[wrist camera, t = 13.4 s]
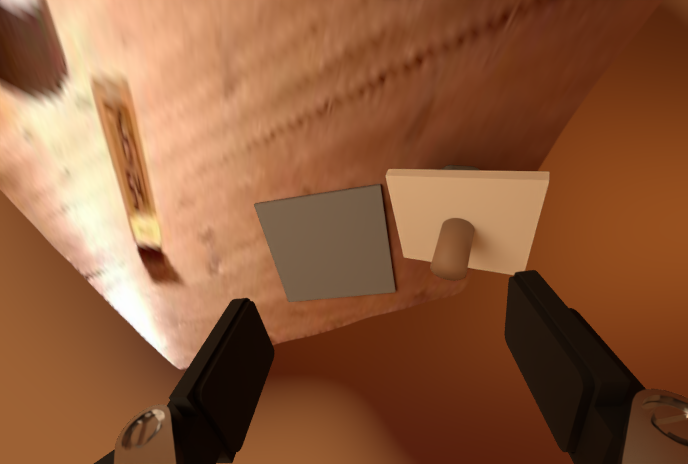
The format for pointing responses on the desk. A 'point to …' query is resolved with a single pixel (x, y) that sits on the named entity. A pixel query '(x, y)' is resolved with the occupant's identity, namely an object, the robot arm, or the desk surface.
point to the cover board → (467, 217)
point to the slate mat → (329, 243)
